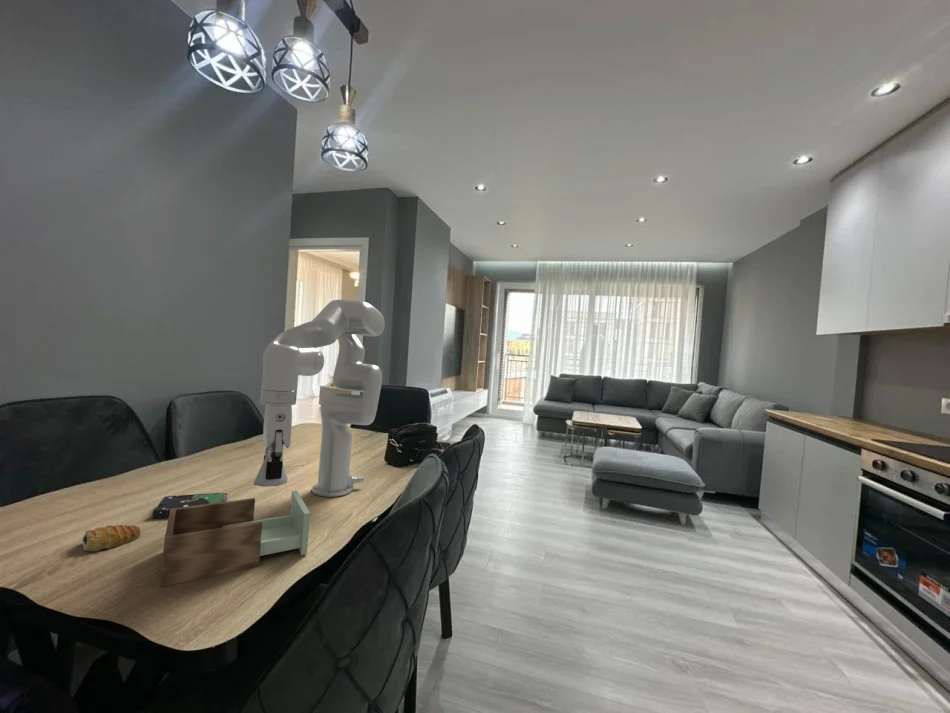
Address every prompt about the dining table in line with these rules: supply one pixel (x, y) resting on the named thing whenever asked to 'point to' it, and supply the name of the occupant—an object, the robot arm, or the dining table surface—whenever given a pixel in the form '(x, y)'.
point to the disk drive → (186, 502)
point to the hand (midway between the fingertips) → (271, 474)
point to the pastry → (109, 537)
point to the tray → (285, 529)
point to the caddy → (210, 541)
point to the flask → (261, 475)
